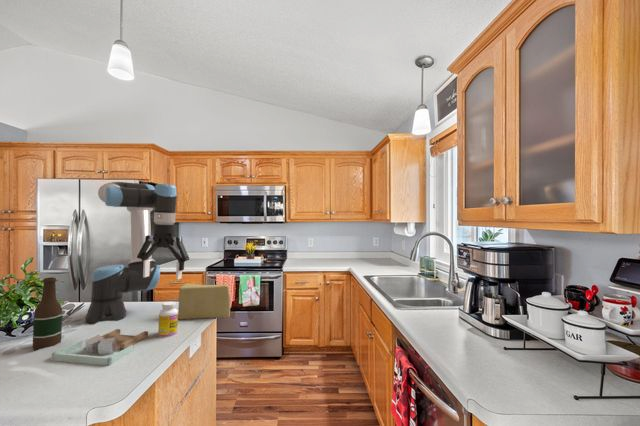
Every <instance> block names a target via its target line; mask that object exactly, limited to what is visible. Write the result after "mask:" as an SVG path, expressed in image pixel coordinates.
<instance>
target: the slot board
mask: <svg viewBox="0 0 640 426" xmlns="http://www.w3.org/2000/svg"><path fill="white" fill-rule="evenodd" d="M101 336H102V337H103V338H105V339H107V338H114V337H115V340H116V349H115V351H122V350H124V349H125V348H127V347H129V346H131V345H136V344H138V343H139V342H141V341H143V340H145V339H147V338H148V337H149V331H146V330H145V331H142V332H140V333H138V334H136V335H129V334H121V328H116V329H114V330H112V331H109V332H107V333H105V334H103V335H101Z"/></svg>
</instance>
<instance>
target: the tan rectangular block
mask: <svg viewBox="0 0 640 426" xmlns="http://www.w3.org/2000/svg"><path fill="white" fill-rule="evenodd" d="M230 293H231V291H230V286H229V285H228V284H199V283H198V284H197V283H184V285H182V286H180V287H179V289H178V309H177V310H178V321H179V320H180V321H181V320H194V319H222V318H223V319H226V318H227V319H228V318H229V317H230V316H231V294H230Z"/></svg>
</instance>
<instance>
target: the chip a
mask: <svg viewBox="0 0 640 426" xmlns="http://www.w3.org/2000/svg"><path fill="white" fill-rule="evenodd" d="M102 336H103V335H99V334H98V335H95V336H92V337H90V338H89V339H86V340H84V342H85V348H86V352H88V353H91V354H95V353H98V344H99V343H100V341H101V339H105V338H103V337H102Z"/></svg>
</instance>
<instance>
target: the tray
mask: <svg viewBox="0 0 640 426" xmlns="http://www.w3.org/2000/svg"><path fill="white" fill-rule="evenodd" d="M81 348H83V340H79V341H76V342H75V343H72V344H70V345H68V346H66V347H63V348H61V349H59V350H57V351H54V352H52V353H51V361H58V362H67V363H68V362H69V363H77V364H78V363H80V364H90V365H99V366H100V365H101V366H111V365H113V364H114V363H116V362H118V361H119V360H121V359H123V358H124V357H126V356H128V355H130V354H131V353H133V352H134V345H131V346H129V347H127V348H125V349H124V350H119V351H118V352H117V353H115V354H112V355H111V356H109V357H108V356H100V355H85V354H75V353H72V352H75V351H76V350H79V349H81Z"/></svg>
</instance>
